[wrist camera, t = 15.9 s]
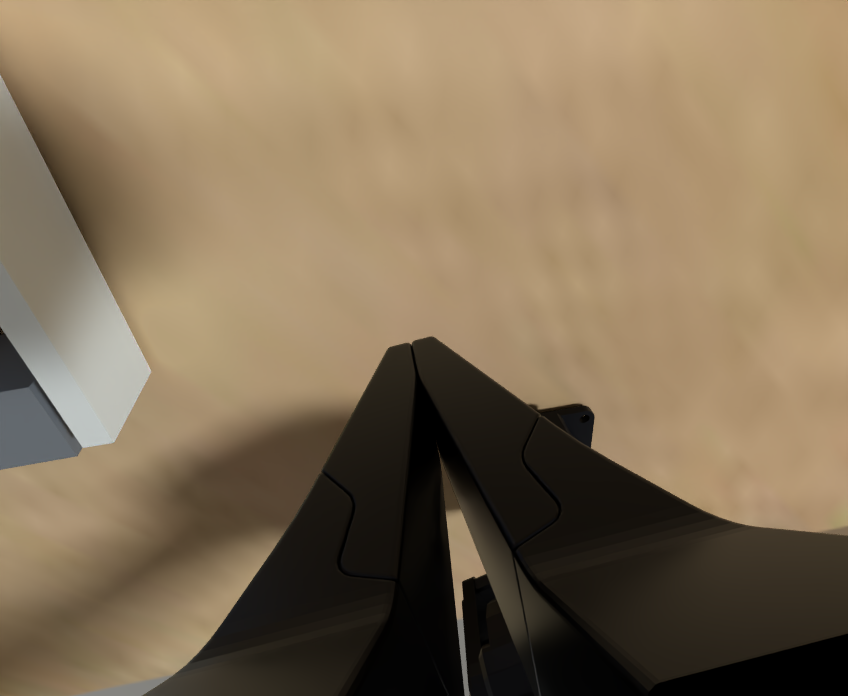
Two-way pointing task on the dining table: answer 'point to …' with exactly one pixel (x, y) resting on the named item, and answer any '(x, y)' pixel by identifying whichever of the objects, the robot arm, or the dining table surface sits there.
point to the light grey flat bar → (60, 296)
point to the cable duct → (28, 416)
